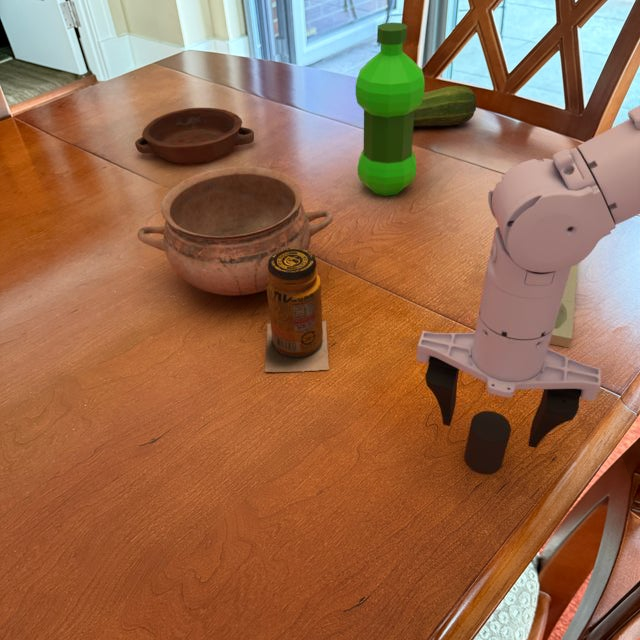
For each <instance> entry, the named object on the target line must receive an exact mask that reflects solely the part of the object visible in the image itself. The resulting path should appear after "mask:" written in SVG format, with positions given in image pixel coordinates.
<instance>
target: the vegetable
mask: <svg viewBox="0 0 640 640" xmlns="http://www.w3.org/2000/svg"><path fill="white" fill-rule="evenodd" d="M476 96H477V95H476V94H475V93H474V91H473V90H472V89H471V88H470V87H467V86H462V85H450V86H446V87H443V88H438V89H435V90H431V91H430V90H429V91H427V92H424V97H423V100H422V104H421V105H420V106H419V107H418V108H417V109H415V110H414V124H413V128H423V127H425V128H426V127H427V128H432V127H451V126H457V125H460V124H465V123H467V122H468V121H471V119H472V118H473V117H474V115H475V112H476V110H477V102H478V101H477V97H476Z"/></svg>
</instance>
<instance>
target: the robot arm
mask: <svg viewBox="0 0 640 640" xmlns="http://www.w3.org/2000/svg"><path fill="white" fill-rule="evenodd" d="M627 116H628V119H627V120H625V121H623V122H621V123H619V124H616V125H615V126H612V127H611V128H609V129H607V130H605V131H603V132H602V133H600V134H598V135H596V136H594V137H592V138H590V139H588V140H586V141H584V142H583V143H581V144H578V145H577V146H576V147H573V148H571V149H568V148H567V147H566V148H565V147H564V148H563V149H562V150H560V151H557V152H556V153H554V154H553V155H552V159H551V158H545V157H544V158H542V159H538V158H533V159H529V160H525V161H523V162H520V163H517V164H516V165H515V166H513V167H511V168H510V169H509V170H507V171H506V172H504V174H503V175H502V176H501V181H500V182H499V181H498V182H497V183H496V184H495V187H494V189H489V190H488V193H487V194H488V195H487V200H488V206H489V209H490V213H491V215H492V216H493V218H494V220H496V223H497V227H496V228H495V229H494V231H493V236H492V237H493V238H492V242H491V249H490V253H489V257H488V259H487V263H486V267H485V274H484V278H483V285H482V291H481V295H480V302H479V307H478V313H477V319H476V325H475V330H474V332H433V331H426V330H422V332H421V335H420V337H419V341H418V342H417V348H416V356H415V358H416V359H415V361H416V362H419V363H424V364H428V365H427V369H426V373H425V384H426V387H427V388H428V389H429V390H430V392H432V394H433V396H434V398H435V399H436V402H437V404H438V406H439V409H440V413H441V418H442V425H443V426H446V427H447V426H448V427H451V424H452V420H453V416H454V413H455V408H456V403H457V393H458V392H457V391H458V381H459V375H460V371H462V372H463V373H466V374H467V375H469V376H471V377H474V378H476V379H477V380H479V381H481V382H484V383H485V384H486V389H485V390H486V392H487V393H489V394H491V395H494V396H499V397H502V398H508V399H509V398H512V397H513V396H514V394H515V391H516V390H517V391H519V390H522V391H523V390H543V391H542V396H541V398H540V402H539V405H538V407H537V409H536V411H535V414H534V417H533V419H532V422H531V426H530V430H529V437H528V445H527V446H528V447H530V448H534V449H536V448H537V447H538V446H539V444H540V443H541V442H542V441H543V439H544V438H545V437H546V436H547V435H549V433H550V432H551V431H553V430H555V428H557V427H559V426H560V425H563V424H564V423H567V422H570V421H573V420H574V418H575V417H576V415H577V414H578V413H579V412H578V411H579V408H580V398H581V399H583V400H586V401H591V402H595V401H596V398H597V396H598V394H599V391H600V389H601V386H602V369H601V368H600V367H596V366H593V365H590V364H586V363H583V362H580V361H577V360H575V359H573V358H571V357H569V356H567V355H564V354H562V353H560V352H558V351H555V350H553V349H551V348H549V346H550V344H549V343H550V340H551V336H552V333H553V329H554V326H555V322H556V319H557V315H558V312H559V308H560V305H561V302H562V298H563V295H564V291H565V288H566V284H567V281H568V278H569V273H570V270H571V266H575V265H577V264H578V265H579V264H580V263H582V261H584V260H586V258H587V257H588V256H589V255H591V254H592V252H593V251H594V249H596V247H597V245H598V243H600V241H601V240H602V239H603V238H605V237H607V236H609V235H611V234H612V232H611V231H612V230H615V229H616V228H617V227H616V225H619V224H621V223H623V222H626V221H627V220H629V219H632V218H634V217H636V216H638V215H640V105H638V106H636V107H634V108H632V109H630V110H629V111H628V112H627Z"/></svg>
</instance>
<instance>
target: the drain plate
mask: <svg viewBox="0 0 640 640" xmlns="http://www.w3.org/2000/svg"><path fill="white" fill-rule="evenodd" d="M578 271H579V263H578V264H577V265H575V266H571V270H570V273H569V278H568V281H567V284H566V288H565V291H564V295H563V298H562V302H561V305H560V308H559V312H558V315H557V319H556V322H555V326H554V329H553V333H552V336H551V340H550V343H549V345H554V346H558V347H564V348H570V346H571V343H572V341H573V332H574V319H575V309H576V308H575V306H576V296H577V284H578Z"/></svg>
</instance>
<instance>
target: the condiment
mask: <svg viewBox="0 0 640 640" xmlns="http://www.w3.org/2000/svg"><path fill="white" fill-rule="evenodd" d="M268 270H269V272H268V276H269V278H268V280H267V289H266V295H267V302H268V313H269V321H270V323H269V322H268V323H266V342H265V343H266V346H265V359H264V360H265V363H264V373H271V372H272V373H285V372H286V373H294V372H301V373H304V372H309V371H313V372H314V371H317V372H318V371H329V370H330V365H329V349H328V348H329V347H328V334H327V333H328V332H327V320H323V304H322V283H321V277H320V276H319V275H318V269H317V260H316V257H315V255H314V254H313V253H312V252H311V251H309V250H308V251H307V250H304V249H300V248H286V249H283V250H280V251H278V252H276V253H275V254H273V255H272V256H271V258H270V259H269V261H268Z"/></svg>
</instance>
